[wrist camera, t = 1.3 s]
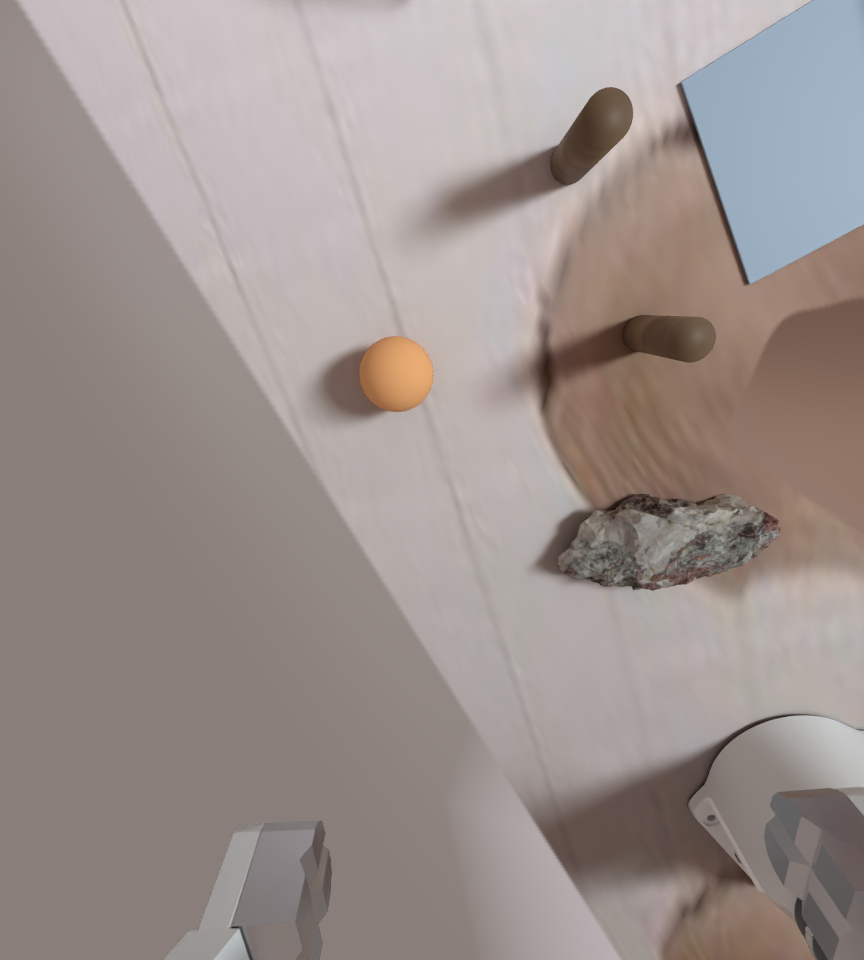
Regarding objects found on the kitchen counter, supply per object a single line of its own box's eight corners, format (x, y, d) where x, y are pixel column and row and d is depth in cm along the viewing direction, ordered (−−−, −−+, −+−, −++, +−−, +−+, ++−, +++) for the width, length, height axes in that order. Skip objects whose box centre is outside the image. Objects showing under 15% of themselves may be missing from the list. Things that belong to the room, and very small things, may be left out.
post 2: (662, 340, 35) (721, 348, 28) (630, 357, 36) (679, 370, 28) (649, 308, 34) (707, 308, 27) (617, 326, 35) (664, 331, 27)
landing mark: (953, 175, 31) (956, 174, 31) (748, 284, 34) (750, 284, 34) (904, -57, 28) (907, -59, 28) (680, 83, 30) (681, 81, 30)
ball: (446, 384, 36) (446, 395, 32) (387, 416, 37) (379, 432, 33) (412, 321, 35) (407, 323, 30) (352, 356, 36) (338, 363, 31)
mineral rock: (554, 575, 42) (567, 605, 37) (564, 485, 39) (578, 506, 35) (734, 580, 41) (767, 610, 37) (756, 489, 39) (793, 511, 35)
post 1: (594, 170, 32) (640, 127, 24) (560, 191, 32) (594, 156, 25) (579, 132, 31) (621, 76, 24) (544, 154, 32) (574, 106, 24)
